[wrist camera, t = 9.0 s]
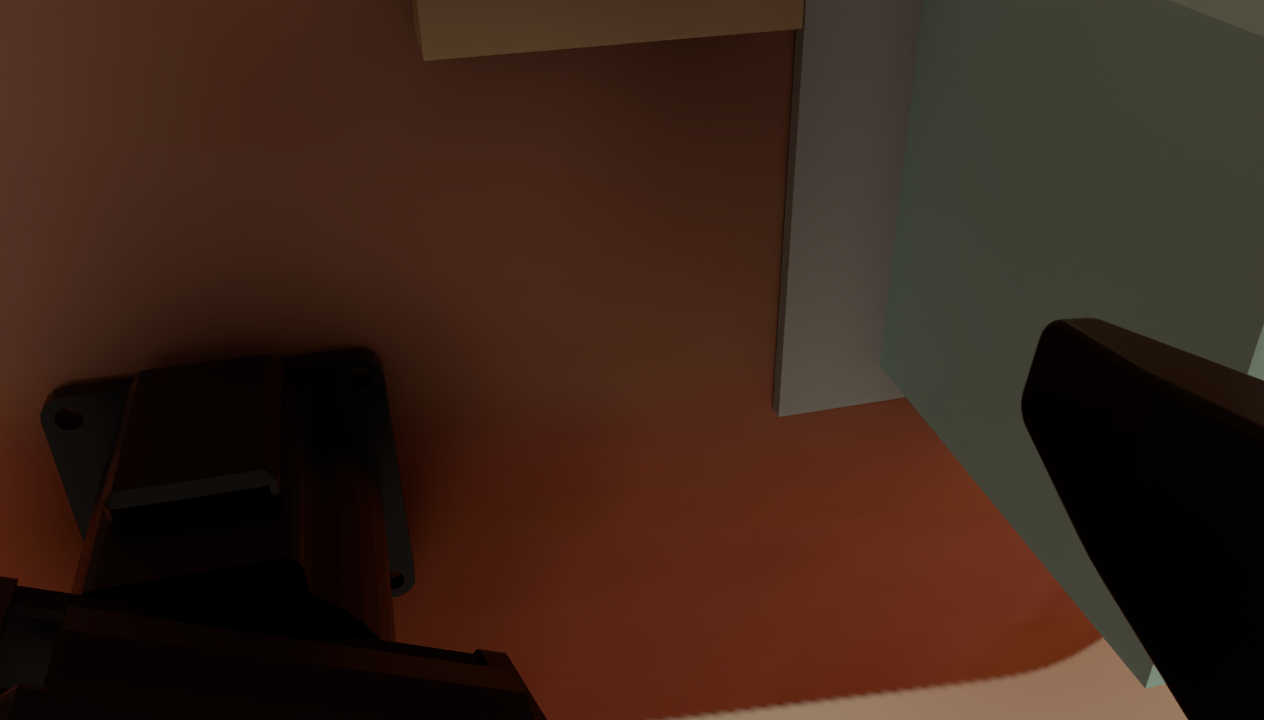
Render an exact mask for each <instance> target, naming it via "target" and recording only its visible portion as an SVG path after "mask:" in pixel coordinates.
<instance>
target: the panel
mask: <svg viewBox="0 0 1264 720" xmlns="http://www.w3.org/2000/svg"><path fill="white" fill-rule="evenodd" d="M1086 317H1089V318H1097V319H1100V320H1103V321H1106V322H1108V323H1111V324H1114V325H1116V326H1119V327H1122V328H1125V329H1127V330H1130V331H1133V332H1135V333H1138V334H1141V335H1143V336H1146V337H1149V338H1151V339H1154V340H1157V341H1159V342H1162V343H1165V344H1167V345H1170V346H1173V347H1176V348H1178V349H1181V350H1184V351H1186V352H1189V353H1192V354H1194V355H1197V356H1200V357H1202V358H1205V359H1208V360H1210V361H1213V362H1216V363H1218V364H1221V365H1224V366H1227V367H1229V368H1232V369H1235V370H1237V371H1240V372H1243V373H1245V374H1248V375H1251V376H1253V377H1256V378H1259V379H1261V380H1264V0H923V3H922V11H921V20H920V28H919V37H918V45H917V54H916V62H915V71H914V79H913V88H912V96H911V105H910V113H909V122H908V130H907V139H906V147H905V156H904V164H903V173H902V181H901V190H900V198H899V207H898V215H897V224H896V232H895V241H894V249H893V258H892V267H891V275H890V284H889V292H888V301H887V309H886V318H885V326H884V335H883V343H882V352H881V360H880V366H881V368H882V369H883V370H884V371H885V372H886V374H887V375H888V376H889V377H890V379H891V380H892V381H893V382H894V383H895V385H896V386H897V387H898V388H899V389H900V391H901V392H902V393H903V394H904V396H905V397H906V398H907V399H908V400H909V402H910V403H911V404H912V405H913V407H914V408H915V409H916V410H917V411H918V413H919V414H920V415H921V416H922V417H923V419H924V420H925V421H926V422H927V424H928V425H929V426H930V427H931V428H932V430H933V431H934V432H935V433H936V434H937V436H938V437H939V438H940V439H941V441H942V442H943V443H944V444H945V445H946V447H947V448H948V449H949V450H950V452H951V453H952V454H953V455H954V456H955V458H956V459H957V460H958V461H959V462H960V464H961V465H962V466H963V467H964V469H965V470H966V471H967V472H968V473H969V475H970V476H971V477H972V478H973V479H974V481H975V482H976V483H977V484H978V486H979V487H980V488H981V489H982V490H983V492H984V493H985V494H986V495H987V497H988V498H989V499H990V500H991V501H992V503H993V504H994V505H995V506H996V507H997V509H998V510H999V511H1000V512H1001V514H1002V515H1003V516H1004V517H1005V518H1006V520H1007V521H1008V522H1009V523H1010V524H1011V526H1012V527H1013V528H1014V529H1015V531H1016V532H1017V533H1018V534H1019V535H1020V537H1021V538H1022V539H1023V540H1024V541H1025V543H1026V544H1027V545H1028V546H1029V548H1030V549H1031V550H1032V551H1033V552H1034V554H1035V555H1036V556H1037V557H1038V559H1039V560H1040V561H1041V562H1042V563H1043V565H1044V566H1045V567H1046V568H1047V569H1048V571H1049V572H1050V573H1051V574H1052V576H1053V577H1054V578H1055V579H1056V580H1057V582H1058V583H1059V584H1060V585H1061V586H1062V588H1063V589H1064V590H1065V591H1066V593H1067V594H1068V595H1069V596H1070V597H1071V599H1072V600H1073V601H1074V602H1075V604H1076V605H1077V606H1078V607H1079V608H1080V610H1081V611H1082V612H1083V613H1084V614H1085V616H1086V617H1087V618H1088V619H1089V621H1090V622H1091V623H1092V624H1093V625H1094V627H1095V628H1096V629H1097V630H1098V631H1099V633H1100V634H1101V635H1102V636H1103V638H1104V639H1105V640H1106V641H1107V642H1108V644H1109V645H1110V646H1111V647H1112V648H1113V650H1114V651H1115V652H1116V653H1117V655H1118V656H1119V657H1120V658H1121V659H1122V661H1123V662H1124V663H1125V664H1126V666H1127V667H1128V668H1129V669H1130V670H1131V671H1132V673H1133V674H1134V675H1135V676H1136V678H1137V679H1138V680H1139V681H1140V683H1141V684H1142V685H1143V686H1144V687H1145V688H1149V687H1154V686H1159V685H1163V684H1166V683H1165V682H1164V680H1163V678H1162V677H1161V675H1160V673H1159V672H1158V670H1157V669H1156V667H1155V665H1154V664H1153V662H1152V660H1151V659H1150V657H1149V656H1148V654H1147V652H1146V651H1145V649H1144V647H1143V646H1142V644H1141V643H1140V641H1139V639H1138V638H1137V636H1136V634H1135V633H1134V631H1133V630H1132V628H1131V626H1130V625H1129V623H1128V621H1127V620H1126V618H1125V617H1124V615H1123V613H1122V612H1121V610H1120V608H1119V607H1118V605H1117V604H1116V602H1115V600H1114V599H1113V597H1112V595H1111V594H1110V592H1109V591H1108V589H1107V587H1106V586H1105V584H1104V582H1103V581H1102V579H1101V577H1100V576H1099V574H1098V572H1097V570H1096V569H1095V567H1094V565H1093V564H1092V562H1091V560H1090V558H1089V556H1088V555H1087V553H1086V551H1085V549H1084V547H1083V545H1082V543H1081V541H1080V539H1079V537H1078V535H1077V533H1076V531H1075V529H1074V527H1073V525H1072V522H1071V520H1070V518H1069V516H1068V514H1067V512H1066V510H1065V508H1064V506H1063V504H1062V502H1061V500H1060V497H1059V495H1058V493H1057V491H1056V489H1055V487H1054V485H1053V483H1052V481H1051V479H1050V477H1049V474H1048V472H1047V470H1046V468H1045V466H1044V464H1043V462H1042V460H1041V458H1040V456H1039V454H1038V451H1037V449H1036V447H1035V445H1034V443H1033V441H1032V439H1031V437H1030V435H1029V433H1028V431H1027V429H1026V426H1025V424H1024V421H1023V417H1022V412H1021V398H1022V393H1023V390H1024V386H1025V383H1026V380H1027V377H1028V373H1029V370H1030V367H1031V364H1032V360H1033V357H1034V354H1035V351H1036V347H1037V344H1038V341H1039V338H1040V335H1041V333H1042V331H1043V329H1044V328H1045V327H1046V326H1047V325H1048V324H1049V323H1051V322H1052V321H1054V320H1059V319H1071V318H1086Z"/></svg>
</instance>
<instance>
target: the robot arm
mask: <svg viewBox="0 0 1264 720" xmlns="http://www.w3.org/2000/svg"><path fill="white" fill-rule="evenodd" d="M356 368H363V369H365V370H367V371H368V372H369V374H368V375H367V376H366V377H365V378H362V379H353V378H351V377H349V376H348V375H347V374H348V373H349V372H350V370H353V369H356ZM64 408H71V409H75V410H77V411H79V412H80V413H81V415H82V417H80V418H77V419H71V418H67V417H65V416H63V415H62V414H61V413H60V411H59V410H61V409H64ZM1021 412H1022V417H1023V421H1024V424H1025V426H1026V429H1027V431H1028V433H1029V435H1030V437H1031V439H1032V441H1033V443H1034V445H1035V447H1036V449H1037V451H1038V454H1039V456H1040V458H1041V460H1042V462H1043V464H1044V466H1045V468H1046V470H1047V472H1048V474H1049V477H1050V479H1051V481H1052V483H1053V485H1054V487H1055V489H1056V491H1057V493H1058V495H1059V497H1060V500H1061V502H1062V504H1063V506H1064V508H1065V510H1066V512H1067V514H1068V516H1069V518H1070V520H1071V522H1072V525H1073V527H1074V529H1075V531H1076V533H1077V535H1078V537H1079V539H1080V541H1081V543H1082V545H1083V547H1084V549H1085V551H1086V553H1087V555H1088V556H1089V558H1090V560H1091V562H1092V564H1093V565H1094V567H1095V569H1096V570H1097V572H1098V574H1099V576H1100V577H1101V579H1102V581H1103V582H1104V584H1105V586H1106V587H1107V589H1108V591H1109V592H1110V594H1111V595H1112V597H1113V599H1114V600H1115V602H1116V604H1117V605H1118V607H1119V608H1120V610H1121V612H1122V613H1123V615H1124V617H1125V618H1126V620H1127V621H1128V623H1129V625H1130V626H1131V628H1132V630H1133V631H1134V633H1135V634H1136V636H1137V638H1138V639H1139V641H1140V643H1141V644H1142V646H1143V647H1144V649H1145V651H1146V652H1147V654H1148V656H1149V657H1150V659H1151V660H1152V662H1153V664H1154V665H1155V667H1156V669H1157V670H1158V672H1159V673H1160V675H1161V677H1162V678H1163V680H1164V682H1165V683H1166V685H1167V686H1168V688H1169V690H1170V691H1171V693H1172V694H1173V696H1174V698H1175V699H1176V701H1177V703H1178V704H1179V706H1180V708H1181V709H1182V711H1183V712H1184V714H1185V716H1186V717H1187V719H1188V720H1264V380H1261V379H1259V378H1256V377H1253V376H1251V375H1248V374H1245V373H1243V372H1240V371H1237V370H1235V369H1232V368H1229V367H1227V366H1224V365H1221V364H1218V363H1216V362H1213V361H1210V360H1208V359H1205V358H1202V357H1200V356H1197V355H1194V354H1192V353H1189V352H1186V351H1184V350H1181V349H1178V348H1176V347H1173V346H1170V345H1167V344H1165V343H1162V342H1159V341H1157V340H1154V339H1151V338H1149V337H1146V336H1143V335H1141V334H1138V333H1135V332H1133V331H1130V330H1127V329H1125V328H1122V327H1119V326H1116V325H1114V324H1111V323H1108V322H1106V321H1103V320H1100V319H1097V318H1089V317H1086V318H1071V319H1059V320H1054V321H1052V322H1051V323H1049V324H1048V325H1047V326H1046V327H1045V328H1044V329H1043V331H1042V333H1041V335H1040V338H1039V341H1038V344H1037V347H1036V351H1035V354H1034V357H1033V360H1032V364H1031V367H1030V370H1029V373H1028V377H1027V380H1026V383H1025V386H1024V390H1023V393H1022V398H1021ZM40 416H41V424H42V427H43V430H44V432H45V435H46V438H47V441H48V444H49V446H50V449H51V452H52V455H53V457H54V460H55V463H56V466H57V469H58V471H59V474H60V477H61V480H62V483H63V485H64V488H65V491H66V494H67V496H68V499H69V502H70V505H71V508H72V510H73V513H74V516H75V519H76V522H77V524H78V527H79V530H80V533H81V535H82V538H83V541H84V545H83V549H82V553H81V556H80V560H79V564H78V568H77V572H76V576H75V580H74V584H73V588H72V591H71V594H70V593H63V592H56V591H50V590H43V589H36V588H30V587H23V586H17V583H18V579H15V578H8V577H2V576H0V720H547V719H546V717H545V716H544V714H543V713H542V711H541V709H540V708H539V706H538V704H537V703H536V701H535V699H534V698H533V696H532V695H531V693H530V691H529V690H528V688H527V686H526V685H525V683H524V682H523V680H522V678H521V677H520V675H519V673H518V672H517V670H516V669H515V667H514V665H513V664H512V662H511V660H510V659H509V657H508V656H507V654H506V653H502V652H496V651H489V650H482V649H477V650H476V651H475V652H474V654H471V653H464V652H458V651H451V650H444V649H437V648H431V647H424V646H417V645H411V644H404V643H397V642H396V638H395V627H394V616H393V605H392V597H397V596H400V595H403V594H405V593H406V592H408V591H409V590H411V588H412V587H413V585H414V584H415V570H414V562H413V556H412V549H411V543H410V537H409V530H408V524H407V518H406V511H405V505H404V498H403V492H402V486H401V479H400V473H399V467H398V460H397V454H396V447H395V441H394V435H393V428H392V422H391V416H390V409H389V403H388V396H387V390H386V384H385V377H384V371H383V365H382V363H381V360H380V358H379V357H378V356H377V355H376V354H375V353H374V352H373V351H370V350H368V349H365V348H350V349H343V350H335V351H328V352H320V353H313V354H305V355H298V356H290V357H283V358H276V357H273V356H271V355H269V354H263V355H256V356H248V357H241V358H233V359H225V360H218V361H210V362H203V363H195V364H188V365H180V366H173V367H165V368H158V369H150V370H144V371H142V372H140V373H139V374H138V375H137V377H133V378H126V379H119V380H111V381H104V382H96V383H89V384H81V385H74V386H66V387H62V388H59V389H56V390H54V391H53V392H52V393H51V394H49V395H48V397H47V399H46V401H45V403H44V406H43V409H42V411H41V414H40ZM391 572H398V573H400V575H399V576H396V577H390V573H391Z"/></svg>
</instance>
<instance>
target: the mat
mask: <svg viewBox="0 0 1264 720" xmlns="http://www.w3.org/2000/svg"><path fill="white" fill-rule="evenodd" d="M922 3H923V0H804V7H803V22H802V29H796V44H795V60H794V76H793V92H792V108H791V124H790V140H789V156H788V172H787V188H786V204H785V220H784V236H783V252H782V268H781V284H780V300H779V316H778V332H777V348H776V364H775V380H774V396H773V409H774V410H775V412H776V414H777V415H778V417H782V416H789V415H795V414H801V413H808V412H814V411H820V410H827V409H833V408H839V407H846V406H852V405H858V404H865V403H871V402H878V401H884V400H890V399H897V398H903V397H905V396H904V394H903V393H902V392H901V391H900V389H899V388H898V387H897V386H896V385H895V383H894V382H893V381H892V380H891V379H890V377H889V376H888V375H887V374H886V372H885V371H884V370H883V369H882V368H881V366H880V360H881V352H882V343H883V335H884V326H885V318H886V309H887V301H888V292H889V284H890V275H891V267H892V258H893V249H894V241H895V232H896V224H897V215H898V207H899V198H900V190H901V181H902V173H903V164H904V156H905V147H906V139H907V130H908V122H909V113H910V105H911V96H912V88H913V79H914V71H915V62H916V54H917V45H918V37H919V28H920V20H921V11H922Z"/></svg>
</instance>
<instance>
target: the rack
mask: <svg viewBox="0 0 1264 720" xmlns="http://www.w3.org/2000/svg"><path fill="white" fill-rule="evenodd" d="M411 6H412V15H413V23H414V30H415V33H416V37H417V40H418V44H419V47H420V50H421V54H422V57H423V61H430V60H442V59H454V58H465V57H477V56H489V55H500V54H512V53H524V52H535V51H547V50H559V49H570V48H582V47H594V46H605V45H617V44H629V43H640V42H652V41H664V40H675V39H687V38H699V37H710V36H722V35H734V34H745V33H757V32H769V31H780V30H792V29H802V22H803V7H804V0H411Z"/></svg>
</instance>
